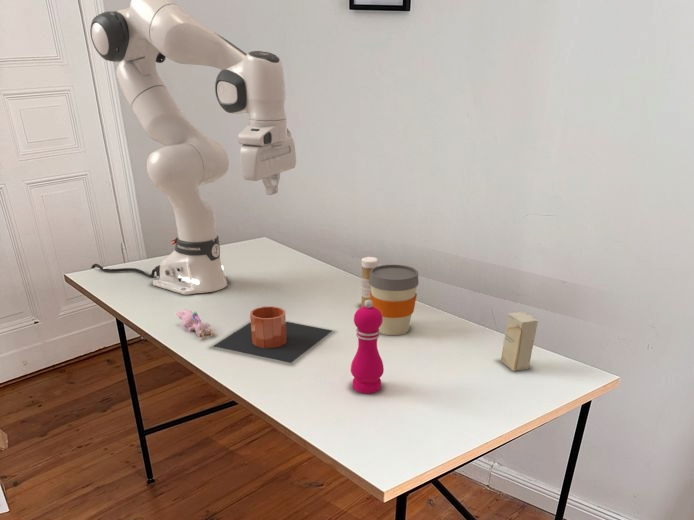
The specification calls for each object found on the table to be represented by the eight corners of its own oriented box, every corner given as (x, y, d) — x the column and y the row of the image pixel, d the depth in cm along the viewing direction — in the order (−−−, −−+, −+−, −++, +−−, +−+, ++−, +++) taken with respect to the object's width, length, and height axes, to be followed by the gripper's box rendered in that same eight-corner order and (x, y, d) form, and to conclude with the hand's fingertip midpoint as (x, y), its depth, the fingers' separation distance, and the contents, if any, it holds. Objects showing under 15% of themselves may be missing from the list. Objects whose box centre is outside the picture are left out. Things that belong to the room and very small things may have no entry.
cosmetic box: (500, 361, 164) (506, 312, 157) (515, 358, 165) (523, 310, 159) (514, 372, 159) (521, 322, 152) (530, 369, 161) (538, 319, 154)
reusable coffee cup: (372, 339, 174) (373, 281, 166) (364, 320, 184) (365, 265, 176) (420, 336, 176) (424, 279, 167) (410, 318, 186) (413, 263, 178)
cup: (263, 332, 176) (246, 344, 170) (261, 304, 172) (243, 315, 165) (292, 338, 173) (275, 350, 167) (291, 309, 169) (273, 321, 162)
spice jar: (369, 302, 196) (370, 255, 188) (380, 307, 193) (381, 259, 185) (357, 306, 193) (358, 258, 186) (367, 310, 191) (368, 262, 183)
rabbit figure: (219, 340, 176) (190, 314, 184) (218, 319, 172) (189, 294, 180) (197, 346, 172) (168, 320, 180) (196, 325, 168) (167, 299, 176)
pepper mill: (385, 382, 154) (389, 295, 143) (379, 396, 148) (382, 307, 137) (354, 378, 155) (355, 292, 144) (347, 392, 150) (347, 304, 138)
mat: (213, 347, 169) (212, 346, 168) (259, 317, 185) (259, 316, 185) (290, 364, 161) (290, 362, 161) (332, 331, 178) (332, 330, 178)
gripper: (278, 126, 171) (281, 184, 179) (233, 136, 156) (239, 200, 164) (301, 127, 169) (303, 187, 177) (257, 138, 154) (261, 203, 162)
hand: (271, 193), depth 170 cm, fingers closed
